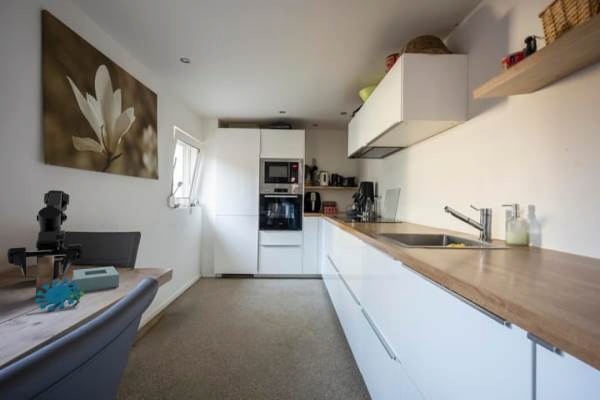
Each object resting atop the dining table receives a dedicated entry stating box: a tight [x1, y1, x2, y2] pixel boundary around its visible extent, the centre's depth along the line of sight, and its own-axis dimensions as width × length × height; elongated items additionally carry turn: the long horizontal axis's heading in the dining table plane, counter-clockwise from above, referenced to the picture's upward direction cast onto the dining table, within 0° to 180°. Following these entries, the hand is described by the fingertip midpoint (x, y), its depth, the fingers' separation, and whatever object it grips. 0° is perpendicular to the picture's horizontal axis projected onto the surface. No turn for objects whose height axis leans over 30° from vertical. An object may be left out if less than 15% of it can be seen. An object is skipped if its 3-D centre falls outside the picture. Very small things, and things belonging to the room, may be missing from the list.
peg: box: [35, 256, 54, 298], centre depth 91 cm, size 4×4×12 cm
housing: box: [71, 265, 120, 293], centre depth 104 cm, size 16×13×4 cm
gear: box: [35, 278, 85, 312], centre depth 83 cm, size 11×6×10 cm
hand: (45, 274), depth 90 cm, fingers open, 9 cm apart
